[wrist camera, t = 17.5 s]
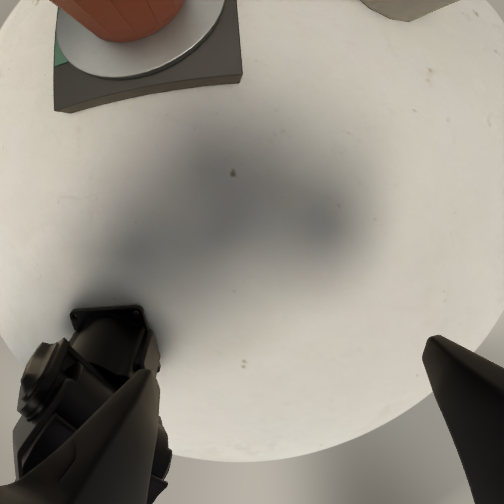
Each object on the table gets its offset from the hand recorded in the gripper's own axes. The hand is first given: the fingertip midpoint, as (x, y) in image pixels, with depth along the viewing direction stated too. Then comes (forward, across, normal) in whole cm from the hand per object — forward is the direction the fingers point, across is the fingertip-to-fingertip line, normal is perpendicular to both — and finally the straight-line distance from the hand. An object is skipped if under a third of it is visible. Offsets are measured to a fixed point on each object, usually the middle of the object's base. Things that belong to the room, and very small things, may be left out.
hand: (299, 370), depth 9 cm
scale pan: (+11, +7, -16) cm, 20 cm away
